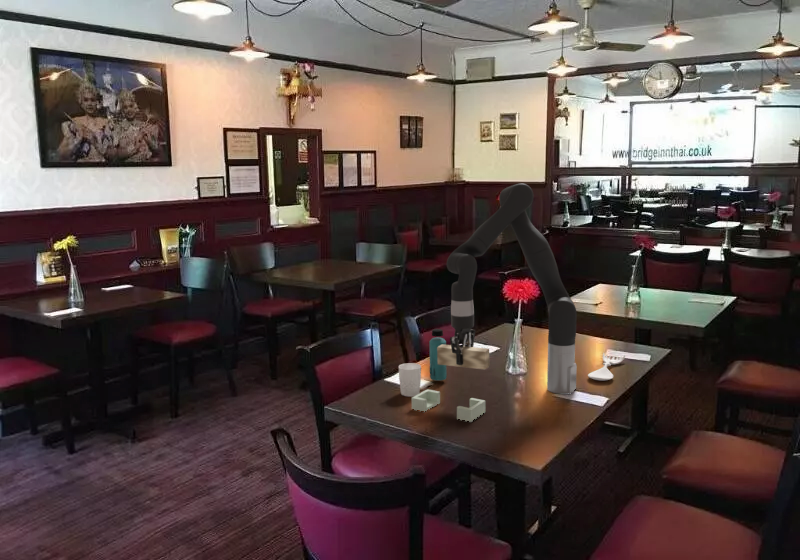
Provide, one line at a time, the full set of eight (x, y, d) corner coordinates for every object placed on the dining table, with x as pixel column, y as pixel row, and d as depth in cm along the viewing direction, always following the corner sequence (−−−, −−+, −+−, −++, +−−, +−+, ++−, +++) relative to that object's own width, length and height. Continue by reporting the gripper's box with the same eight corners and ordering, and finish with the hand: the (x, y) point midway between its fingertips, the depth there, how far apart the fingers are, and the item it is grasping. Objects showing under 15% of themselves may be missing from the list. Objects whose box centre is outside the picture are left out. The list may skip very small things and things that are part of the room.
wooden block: (489, 366, 221) (489, 348, 220) (485, 369, 218) (485, 351, 217) (442, 361, 229) (441, 344, 228) (437, 364, 225) (437, 347, 224)
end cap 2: (485, 412, 215) (485, 400, 215) (470, 422, 207) (470, 410, 207) (471, 409, 218) (471, 397, 217) (456, 419, 210) (456, 407, 209)
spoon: (625, 362, 267) (626, 354, 266) (610, 386, 239) (610, 376, 238) (602, 359, 271) (603, 351, 270) (584, 382, 243) (585, 373, 243)
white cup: (414, 398, 230) (413, 370, 228) (394, 395, 234) (394, 367, 232) (425, 391, 236) (425, 364, 235) (406, 388, 240) (406, 361, 239)
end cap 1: (411, 409, 219) (411, 397, 219) (427, 400, 228) (427, 389, 227) (424, 412, 217) (424, 400, 216) (440, 402, 225) (440, 391, 224)
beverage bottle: (449, 380, 249) (449, 328, 245) (443, 385, 243) (442, 332, 239) (433, 378, 251) (432, 326, 248) (426, 383, 245) (425, 330, 242)
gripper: (462, 318, 212) (463, 370, 215) (482, 309, 224) (482, 358, 227) (441, 316, 216) (443, 366, 219) (462, 307, 228) (463, 356, 231)
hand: (463, 362), depth 223 cm, fingers closed on wooden block, 4 cm apart
